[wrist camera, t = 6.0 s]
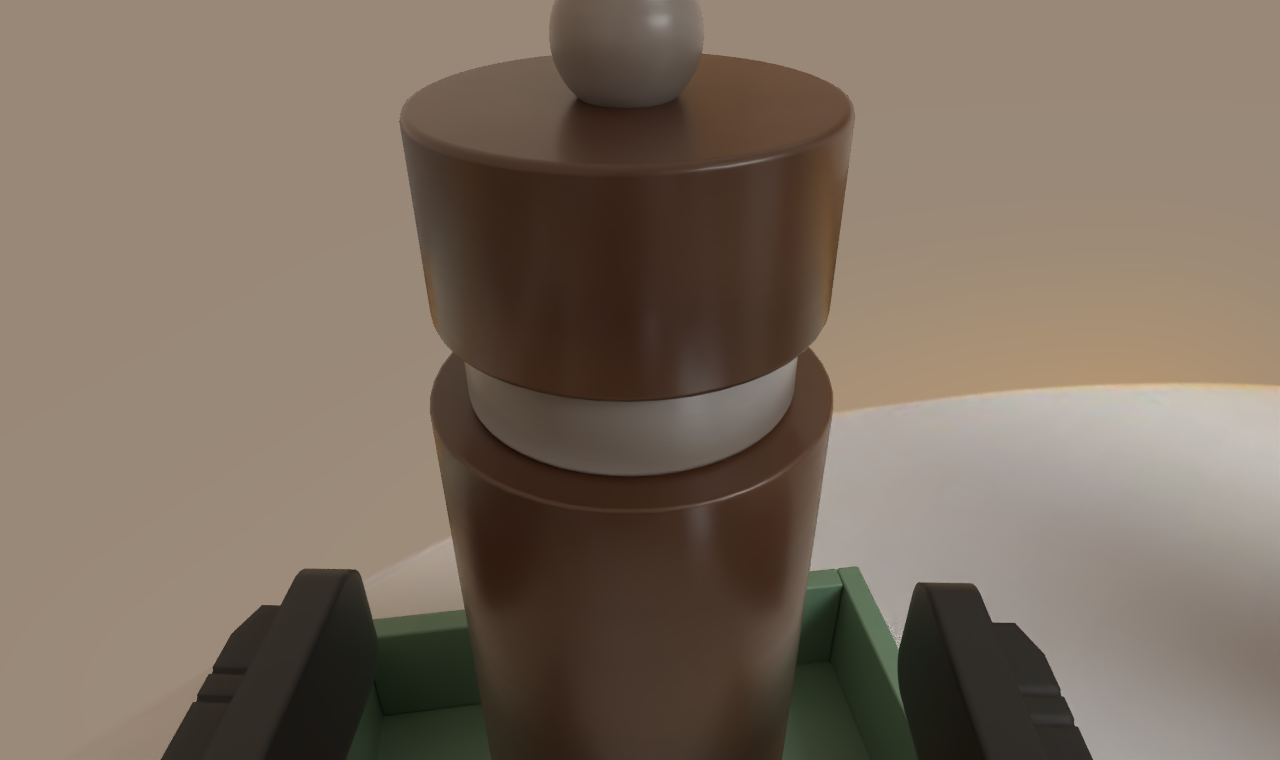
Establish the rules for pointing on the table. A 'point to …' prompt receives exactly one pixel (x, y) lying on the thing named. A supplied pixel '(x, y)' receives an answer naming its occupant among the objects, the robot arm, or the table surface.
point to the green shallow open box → (819, 708)
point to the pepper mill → (631, 377)
